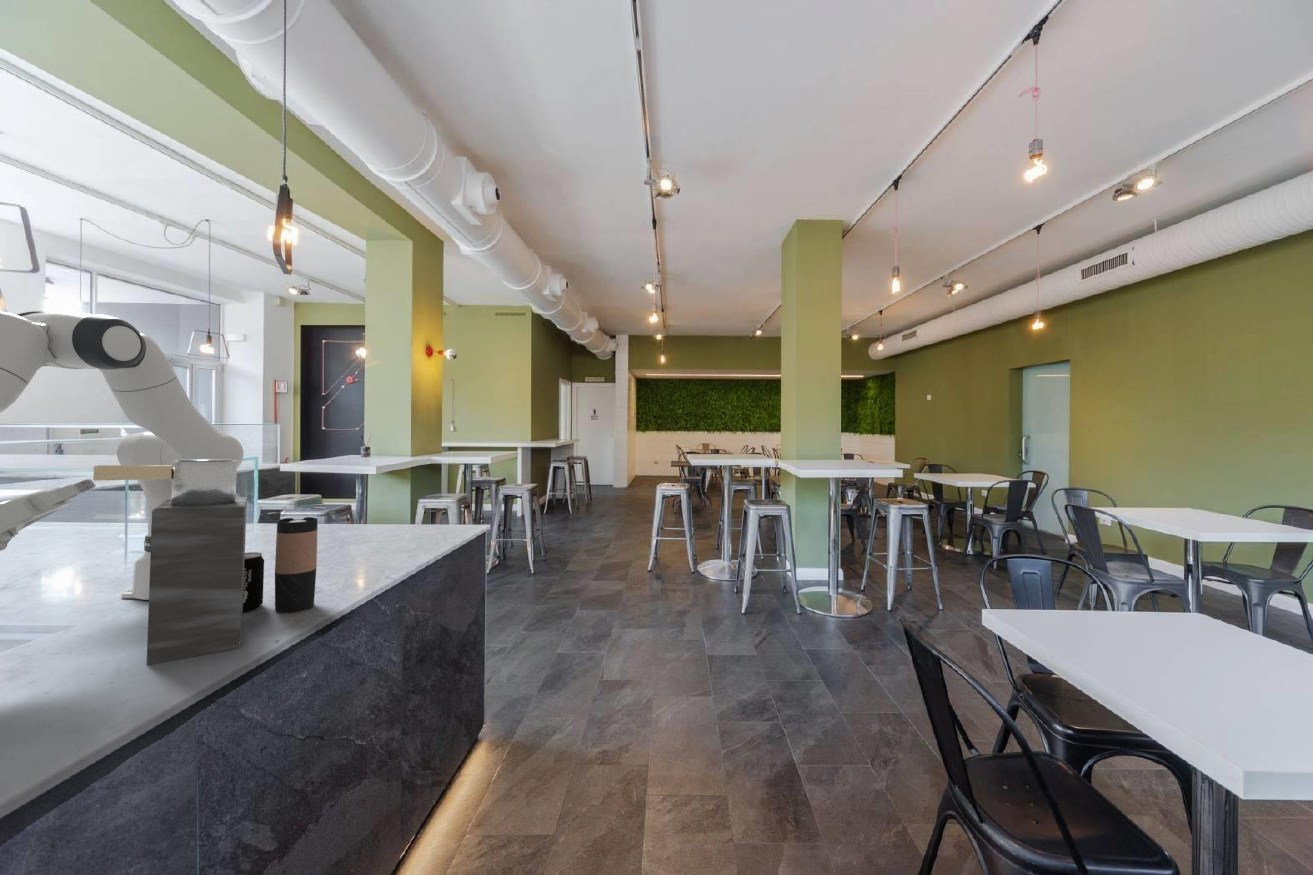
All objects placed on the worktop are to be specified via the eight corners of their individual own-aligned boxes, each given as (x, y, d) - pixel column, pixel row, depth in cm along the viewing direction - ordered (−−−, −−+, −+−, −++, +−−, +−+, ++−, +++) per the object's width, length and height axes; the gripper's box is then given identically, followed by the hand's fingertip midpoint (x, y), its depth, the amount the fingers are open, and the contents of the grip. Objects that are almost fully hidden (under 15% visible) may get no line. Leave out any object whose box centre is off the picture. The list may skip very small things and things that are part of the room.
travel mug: (293, 615, 108) (296, 523, 108) (264, 611, 110) (267, 521, 110) (323, 604, 115) (326, 518, 116) (296, 600, 117) (298, 516, 117)
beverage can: (269, 607, 112) (270, 554, 112) (234, 616, 106) (236, 560, 107) (252, 602, 115) (254, 550, 115) (218, 610, 109) (219, 556, 109)
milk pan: (101, 504, 89) (102, 458, 89) (236, 499, 100) (238, 458, 100) (87, 511, 82) (88, 461, 82) (234, 504, 93) (236, 461, 93)
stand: (162, 633, 96) (166, 499, 96) (242, 621, 104) (246, 497, 104) (146, 664, 84) (152, 511, 84) (239, 648, 91) (244, 506, 91)
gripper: (-87, 527, 68) (49, 474, 75) (-19, 507, 84) (88, 465, 91) (-49, 563, 70) (80, 509, 77) (10, 537, 86) (112, 494, 93)
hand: (84, 485), depth 84 cm, fingers open, 8 cm apart
